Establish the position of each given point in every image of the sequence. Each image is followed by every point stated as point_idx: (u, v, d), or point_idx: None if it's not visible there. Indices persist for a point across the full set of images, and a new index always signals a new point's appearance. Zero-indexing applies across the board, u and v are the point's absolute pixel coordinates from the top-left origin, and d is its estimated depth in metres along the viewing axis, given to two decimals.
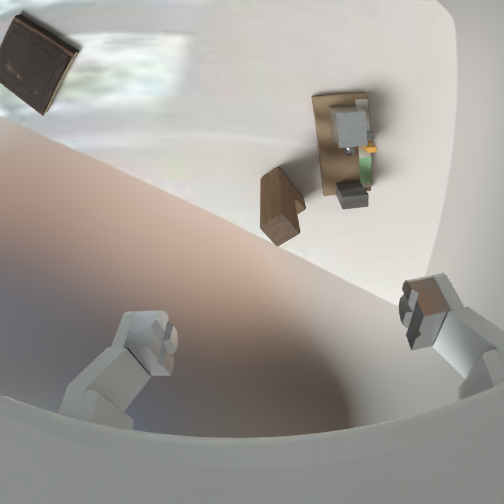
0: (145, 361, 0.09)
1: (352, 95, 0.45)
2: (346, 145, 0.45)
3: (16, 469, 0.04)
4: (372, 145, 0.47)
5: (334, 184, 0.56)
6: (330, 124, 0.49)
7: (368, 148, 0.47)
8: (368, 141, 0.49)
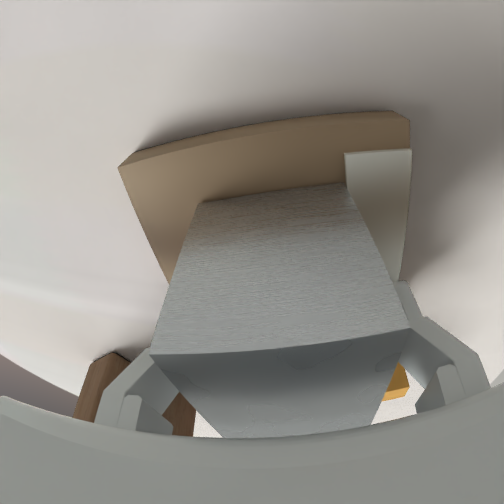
0: None
1: (330, 130, 0.08)
2: (260, 437, 0.09)
3: (16, 469, 0.04)
4: (395, 370, 0.11)
5: None
6: None
7: None
8: None
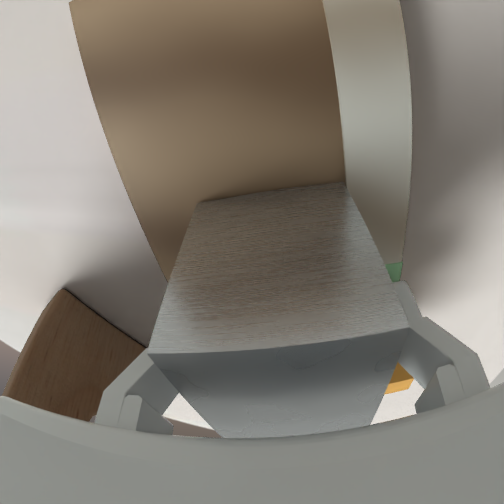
0: None
1: None
2: (259, 437, 0.09)
3: (16, 469, 0.04)
4: None
5: None
6: None
7: None
8: None
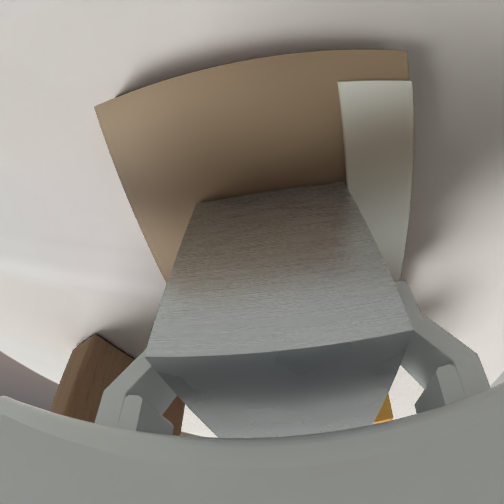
0: None
1: (320, 57, 0.07)
2: None
3: (16, 469, 0.04)
4: None
5: None
6: None
7: None
8: None
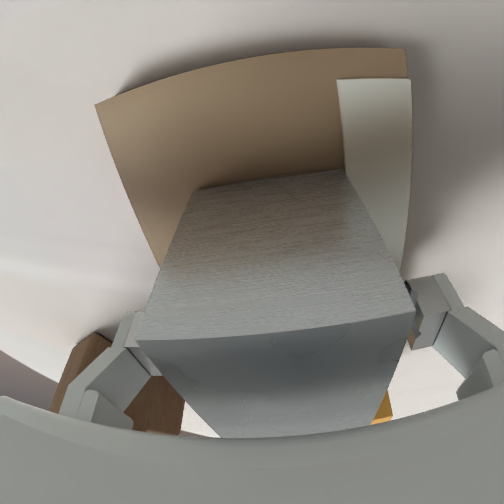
0: (145, 361, 0.09)
1: (319, 55, 0.07)
2: (256, 434, 0.08)
3: (16, 469, 0.04)
4: (382, 402, 0.13)
5: None
6: None
7: None
8: None
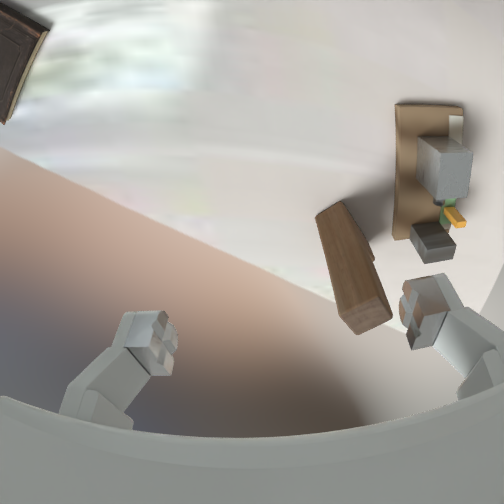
0: (145, 361, 0.09)
1: (446, 109, 0.28)
2: (444, 196, 0.30)
3: (16, 469, 0.04)
4: (461, 217, 0.34)
5: (409, 226, 0.39)
6: (417, 160, 0.33)
7: (458, 223, 0.34)
8: (453, 209, 0.36)
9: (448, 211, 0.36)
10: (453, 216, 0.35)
